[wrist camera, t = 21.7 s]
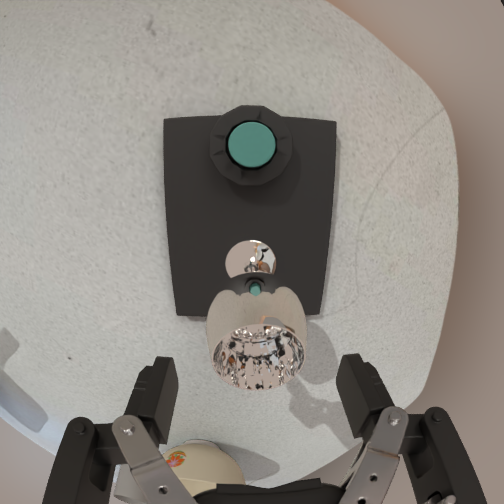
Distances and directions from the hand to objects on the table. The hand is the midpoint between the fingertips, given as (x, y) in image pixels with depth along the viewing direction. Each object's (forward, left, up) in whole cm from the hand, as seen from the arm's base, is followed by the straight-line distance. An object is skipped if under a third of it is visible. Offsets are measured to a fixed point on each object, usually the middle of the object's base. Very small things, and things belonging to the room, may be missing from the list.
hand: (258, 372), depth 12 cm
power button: (-10, 0, -12) cm, 15 cm away
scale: (-3, 0, -14) cm, 15 cm away
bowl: (+36, -8, -14) cm, 39 cm away
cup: (+53, -25, -14) cm, 60 cm away
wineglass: (0, 0, -13) cm, 13 cm away
